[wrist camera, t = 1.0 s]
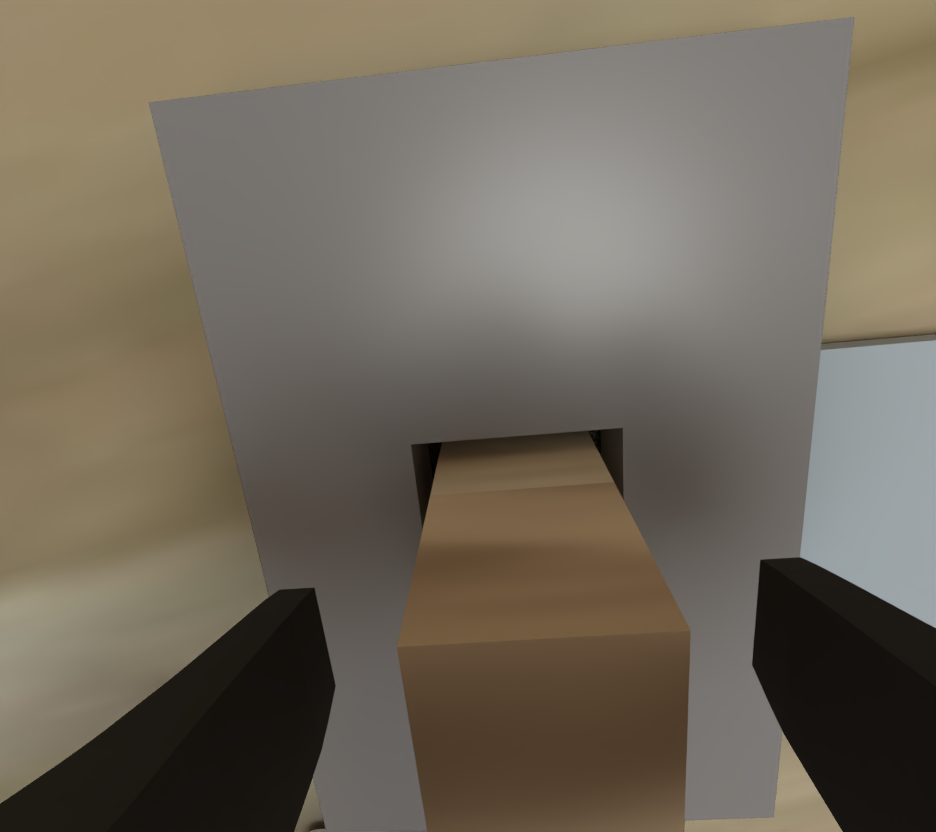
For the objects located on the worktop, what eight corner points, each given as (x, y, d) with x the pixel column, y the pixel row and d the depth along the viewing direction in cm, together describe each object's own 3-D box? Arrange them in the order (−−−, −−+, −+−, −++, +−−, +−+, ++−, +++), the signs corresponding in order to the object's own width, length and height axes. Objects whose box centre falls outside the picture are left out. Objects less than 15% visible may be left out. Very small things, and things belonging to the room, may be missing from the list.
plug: (583, 534, 15) (683, 842, 7) (458, 542, 15) (429, 851, 8) (579, 414, 14) (690, 630, 6) (445, 425, 14) (396, 647, 6)
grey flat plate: (733, 735, 17) (773, 817, 14) (348, 752, 18) (326, 832, 15) (778, 62, 11) (854, 16, 9) (214, 128, 12) (148, 102, 10)
